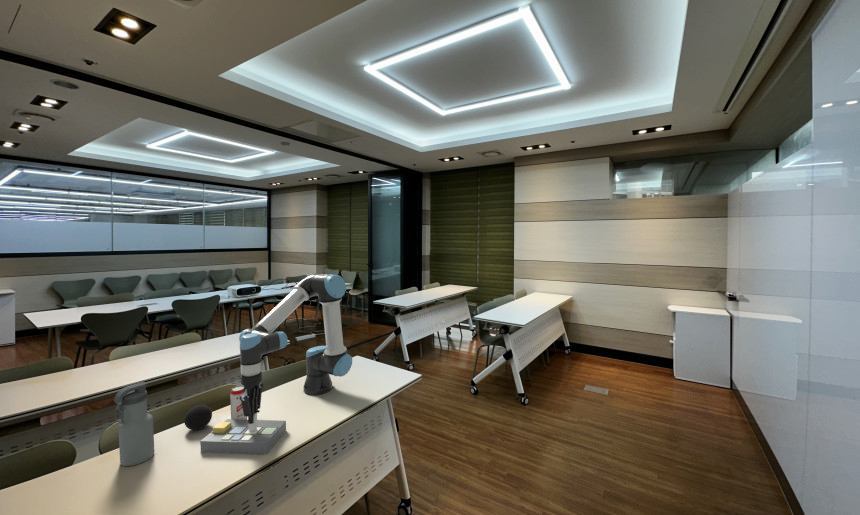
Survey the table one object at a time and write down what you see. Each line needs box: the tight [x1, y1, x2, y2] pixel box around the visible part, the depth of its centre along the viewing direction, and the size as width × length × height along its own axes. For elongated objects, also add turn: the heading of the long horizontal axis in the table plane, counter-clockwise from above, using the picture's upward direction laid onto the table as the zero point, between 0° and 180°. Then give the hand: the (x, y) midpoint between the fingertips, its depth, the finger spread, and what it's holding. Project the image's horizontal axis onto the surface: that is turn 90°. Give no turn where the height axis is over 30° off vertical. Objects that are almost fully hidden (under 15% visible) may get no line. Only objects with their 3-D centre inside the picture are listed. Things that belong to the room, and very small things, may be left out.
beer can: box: [229, 385, 248, 420], centre depth 151 cm, size 6×6×16 cm
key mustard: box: [212, 421, 231, 434], centre depth 138 cm, size 5×5×2 cm
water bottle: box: [114, 381, 155, 467], centre depth 126 cm, size 10×10×28 cm
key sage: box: [260, 427, 277, 435], centre depth 137 cm, size 5×5×2 cm
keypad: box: [199, 418, 287, 455], centre depth 138 cm, size 16×26×5 cm, turn 87°
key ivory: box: [244, 427, 262, 435], centre depth 137 cm, size 5×5×2 cm
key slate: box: [229, 427, 247, 434], centre depth 138 cm, size 5×5×2 cm
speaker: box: [183, 404, 213, 431], centre depth 147 cm, size 10×10×10 cm
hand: (252, 429), depth 137 cm, fingers closed
